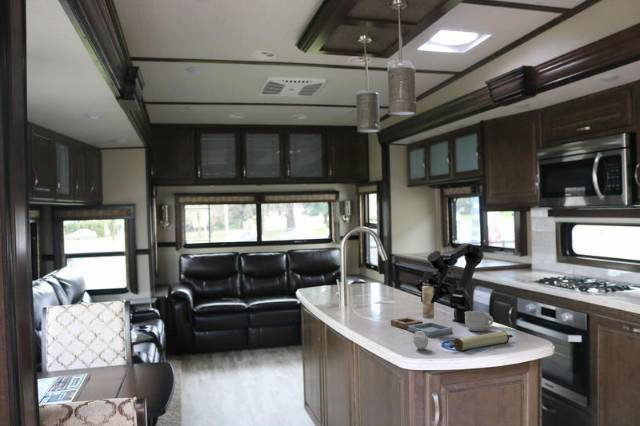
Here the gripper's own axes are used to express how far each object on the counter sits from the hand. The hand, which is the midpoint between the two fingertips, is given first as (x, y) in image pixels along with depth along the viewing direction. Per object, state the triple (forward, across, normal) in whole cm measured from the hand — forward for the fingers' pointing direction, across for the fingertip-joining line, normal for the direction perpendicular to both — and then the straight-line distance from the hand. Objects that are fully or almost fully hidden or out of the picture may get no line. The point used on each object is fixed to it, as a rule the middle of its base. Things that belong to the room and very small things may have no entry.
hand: (426, 302), depth 222 cm
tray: (+9, 0, +10) cm, 14 cm away
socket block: (+7, -14, +12) cm, 20 cm away
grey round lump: (+27, +14, -8) cm, 31 cm away
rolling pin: (+13, +30, +7) cm, 33 cm away
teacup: (-3, +16, +23) cm, 28 cm away
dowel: (+4, 0, +6) cm, 7 cm away
